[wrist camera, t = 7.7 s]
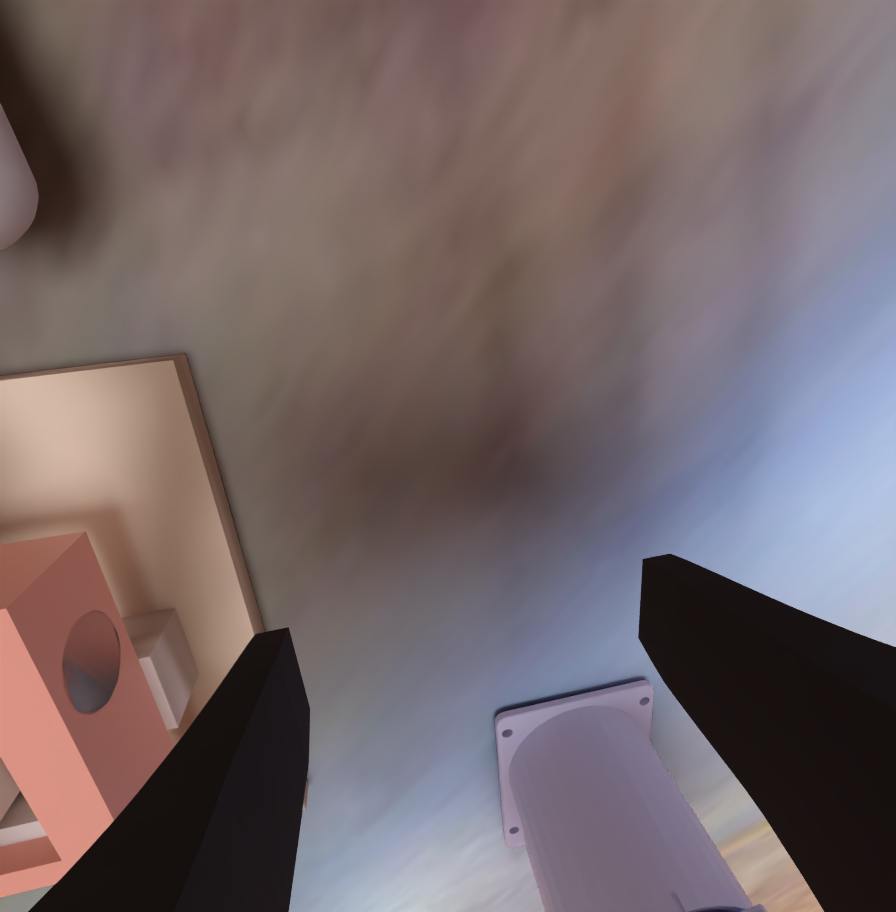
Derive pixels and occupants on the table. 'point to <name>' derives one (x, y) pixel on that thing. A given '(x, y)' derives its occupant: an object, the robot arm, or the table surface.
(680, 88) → the table surface
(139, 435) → the architectural building model
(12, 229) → the clip-on lamp
